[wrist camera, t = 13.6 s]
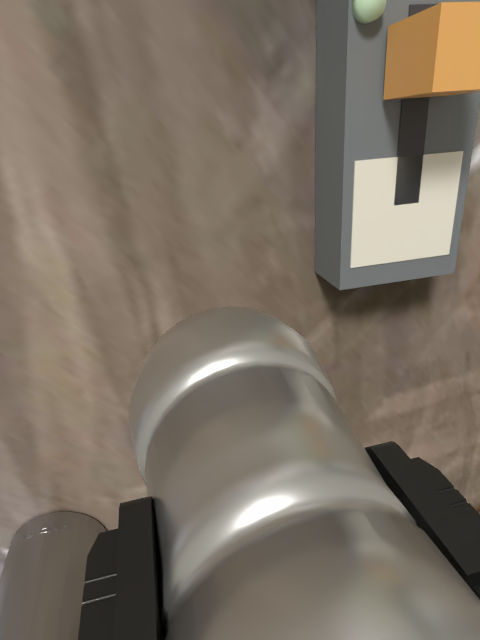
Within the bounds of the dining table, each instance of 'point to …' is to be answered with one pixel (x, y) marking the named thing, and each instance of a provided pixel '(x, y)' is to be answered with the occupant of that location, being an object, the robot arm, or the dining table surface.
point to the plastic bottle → (276, 498)
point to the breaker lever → (434, 52)
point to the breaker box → (383, 155)
